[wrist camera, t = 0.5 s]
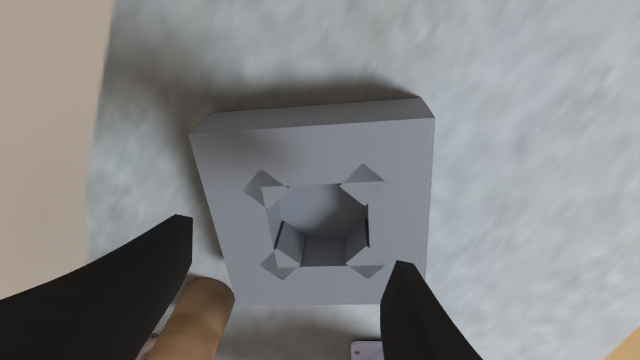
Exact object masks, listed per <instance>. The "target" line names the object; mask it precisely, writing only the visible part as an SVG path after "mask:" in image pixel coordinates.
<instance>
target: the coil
mask: <svg viewBox="0 0 640 360" xmlns="http://www.w3.org/2000/svg"><path fill="white" fill-rule="evenodd" d="M158 337H159V336H158ZM158 337H154V338H151V339H149V340H147V341H146V343H145V344H144V346H143V348H142V349H141V351H140V353H139V354H138V356H137V358H136V360H146V358H147V357H148V355H149V353H150V351H151V350H152V348H153V346H154V344H155V342H156V341H157V339H158Z"/></svg>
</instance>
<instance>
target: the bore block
mask: <svg viewBox="0 0 640 360" xmlns="http://www.w3.org/2000/svg"><path fill="white" fill-rule="evenodd" d="M434 130H435V117H434V115H433V114H432V112H431V111H430V109H429V108H428V106H427V105H426V103H425V102H424V101H423V99H422V98H421V97H418V98H404V99H390V100H377V101H363V102H350V103H336V104H322V105H309V106H295V107H281V108H268V109H254V110H240V111H227V112H213V113H212V114H211V115H209V116H208V117H207V118H206V119H205V120H204V121H202V122H201V123H200V124H199V125H198V126H197V127H195V128H194V129H193V130H192V131H191V132H190V133H188V137H189V140H190V144H191V147H192V151H193V154H194V158H195V161H196V165H197V168H198V171H199V175H200V178H201V182H202V185H203V189H204V192H205V195H206V199H207V202H208V206H209V209H210V213H211V216H212V219H213V223H214V226H215V230H216V233H217V237H218V240H219V243H220V247H221V250H222V254H223V257H224V261H225V264H226V267H227V271H228V274H229V278H230V281H231V285H232V288H233V292H234V295H235V298H236V302H237V305H332V304H380V301H381V298H382V296H383V293H384V290H385V288H386V285H387V283H388V280H389V278H390V275H391V273H392V270H393V268H394V265H395V263H396V260H400V261H404V262H409V263H414V265H415V266H416V268H417V269H418V271H419V272H420V274H421V276H422V277H423V279H424V280H425V276H426V259H427V243H428V227H429V211H430V194H431V178H432V162H433V146H434Z"/></svg>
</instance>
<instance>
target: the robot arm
mask: <svg viewBox="0 0 640 360" xmlns="http://www.w3.org/2000/svg"><path fill="white" fill-rule="evenodd" d="M192 234H193V218H192V217H187V216H182V215H177V214H175V215H173V216H171V217H170V218H168V219H166V220H165V221H163V222H162V223H160V224H158V225H157V226H155V227H153V228H152V229H150V230H148V231H147V232H145V233H143V234H142V235H140V236H138V237H137V238H135V239H133V240H132V241H130V242H128V243H127V244H125V245H123V246H121V247H120V248H118V249H116V250H114V251H112V252H110V253H108V254H106V255H105V256H103V257H101V258H99V259H97V260H95V261H93V262H91V263H89V264H87V265H85V266H83V267H81V268H79V269H77V270H75V271H73V272H70V273H68V274H66V275H63V276H61V277H59V278H56V279H54V280H52V281H49V282H47V283H44V284H42V285H39V286H36V287H34V288H31V289H28V290H26V291H24V292H21V293H18V294H15V295H13V296H10V297H7V298H4V299H1V300H0V360H136V358H137V356H138V354H139V353H140V351H141V349H142V348H143V346H144V344H145V343H146V341H147V340H148V338H149V336H150V335H151V333H152V332H153V330H154V329H155V327H156V325H157V324H158V322H159V321H160V319H161V318H162V316H163V314H164V313H165V311H166V310H167V308H168V307H169V305H170V303H171V302H172V300H173V299H174V297H175V295H176V294H177V292H178V290H179V289H180V287H181V285H182V283H183V281H184V279H185V277H186V274H187V272H188V270H189V268H190V266H191V263H192ZM380 330H381V339H382V341H354V342H352V343H351V359H352V360H483V359H482V358H481V357H480V356H479V355H478V353H477V352H476V351H475V350H474V349H473V347H472V346H471V345H470V344H469V343H468V341H467V340H466V339H465V337H464V336H463V335H462V334H461V332H460V331H459V330H458V328H457V327H456V326H455V324H454V323H453V322H452V320H451V319H450V317H449V316H448V315H447V313H446V312H445V310H444V309H443V308H442V306H441V305H440V303H439V302H438V300H437V299H436V297H435V296H434V294H433V293H432V291H431V290H430V288H429V287H428V285H427V283H426V282H425V280H424V279H423V277H422V276H421V274H420V272H419V271H418V269H417V268H416V266H415V265H414V263H409V262H404V261H400V260H396V263H395V265H394V268H393V270H392V273H391V275H390V278H389V280H388V283H387V285H386V288H385V290H384V293H383V296H382V298H381V301H380Z"/></svg>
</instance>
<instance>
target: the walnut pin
mask: <svg viewBox="0 0 640 360" xmlns="http://www.w3.org/2000/svg"><path fill="white" fill-rule="evenodd" d="M234 303H235V297H234V294H233V292H232V291H231V289H230V288H229V287H228V286H227V285H225V284H224V283H222V282H221V281H218V280H216V279H212V278H198V279H195V280H193V281H191V282H190V283H189V284H188V286H187V287H186V289H185V291H184V293H183V294H182V296H181V298H180V300H179V302H178V303H177V305H176V307H175V309H174V310H173V312H172V314H171V316H170V318H169V319H168V321H167V323H166V325H165V326H164V328H163V330H162V332H161V334H160V335H159V337H158V339H157V341H156V342H155V344H154V346H153V348H152V350H151V351H150V353H149V355H148V357H147V358H146V360H213V358H214V356H215V353H216V350H217V348H218V345H219V342H220V340H221V337H222V334H223V332H224V329H225V327H226V324H227V321H228V319H229V316H230V313H231V311H232V308H233V305H234Z"/></svg>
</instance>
